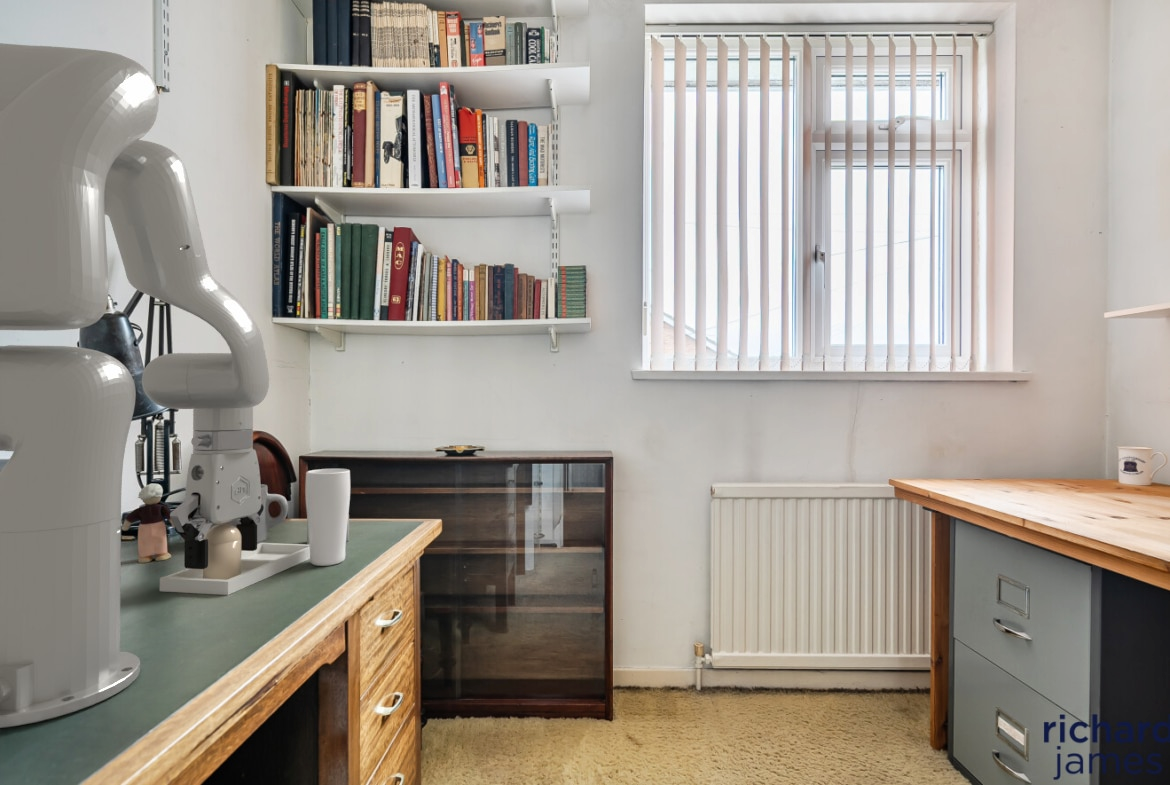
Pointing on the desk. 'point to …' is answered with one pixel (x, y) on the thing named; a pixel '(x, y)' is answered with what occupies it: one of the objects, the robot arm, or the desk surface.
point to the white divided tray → (253, 570)
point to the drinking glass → (327, 514)
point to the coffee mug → (266, 515)
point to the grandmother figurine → (150, 524)
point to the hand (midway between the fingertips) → (222, 558)
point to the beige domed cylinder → (223, 552)
